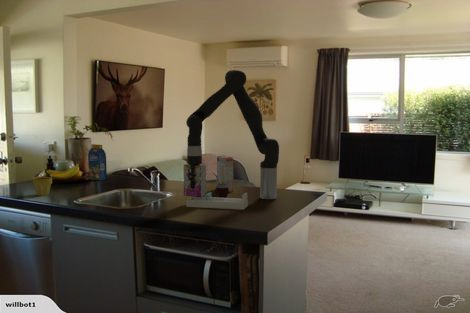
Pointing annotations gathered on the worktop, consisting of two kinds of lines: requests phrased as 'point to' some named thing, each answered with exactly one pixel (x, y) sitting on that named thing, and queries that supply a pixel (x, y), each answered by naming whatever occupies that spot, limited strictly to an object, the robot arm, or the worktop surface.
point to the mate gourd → (221, 189)
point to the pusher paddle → (210, 198)
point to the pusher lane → (219, 203)
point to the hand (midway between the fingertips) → (194, 186)
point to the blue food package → (97, 163)
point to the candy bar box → (199, 181)
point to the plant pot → (42, 185)
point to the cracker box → (225, 171)
